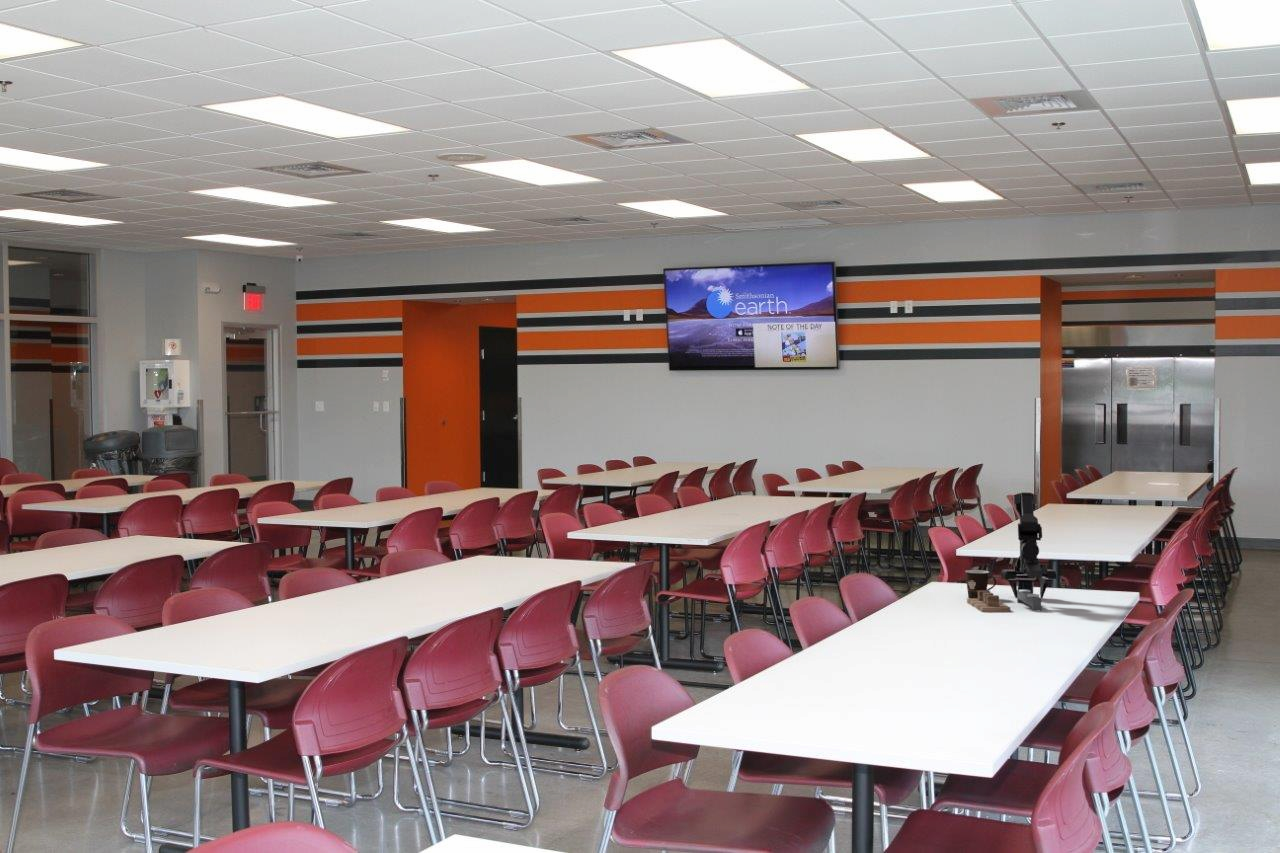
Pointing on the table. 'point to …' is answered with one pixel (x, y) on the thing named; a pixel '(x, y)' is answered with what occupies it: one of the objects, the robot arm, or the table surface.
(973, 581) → the coffee mug
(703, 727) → the table surface
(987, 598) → the display stand
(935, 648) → the table surface
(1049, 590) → the table surface
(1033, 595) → the grey bar with knobs
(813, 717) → the table surface
